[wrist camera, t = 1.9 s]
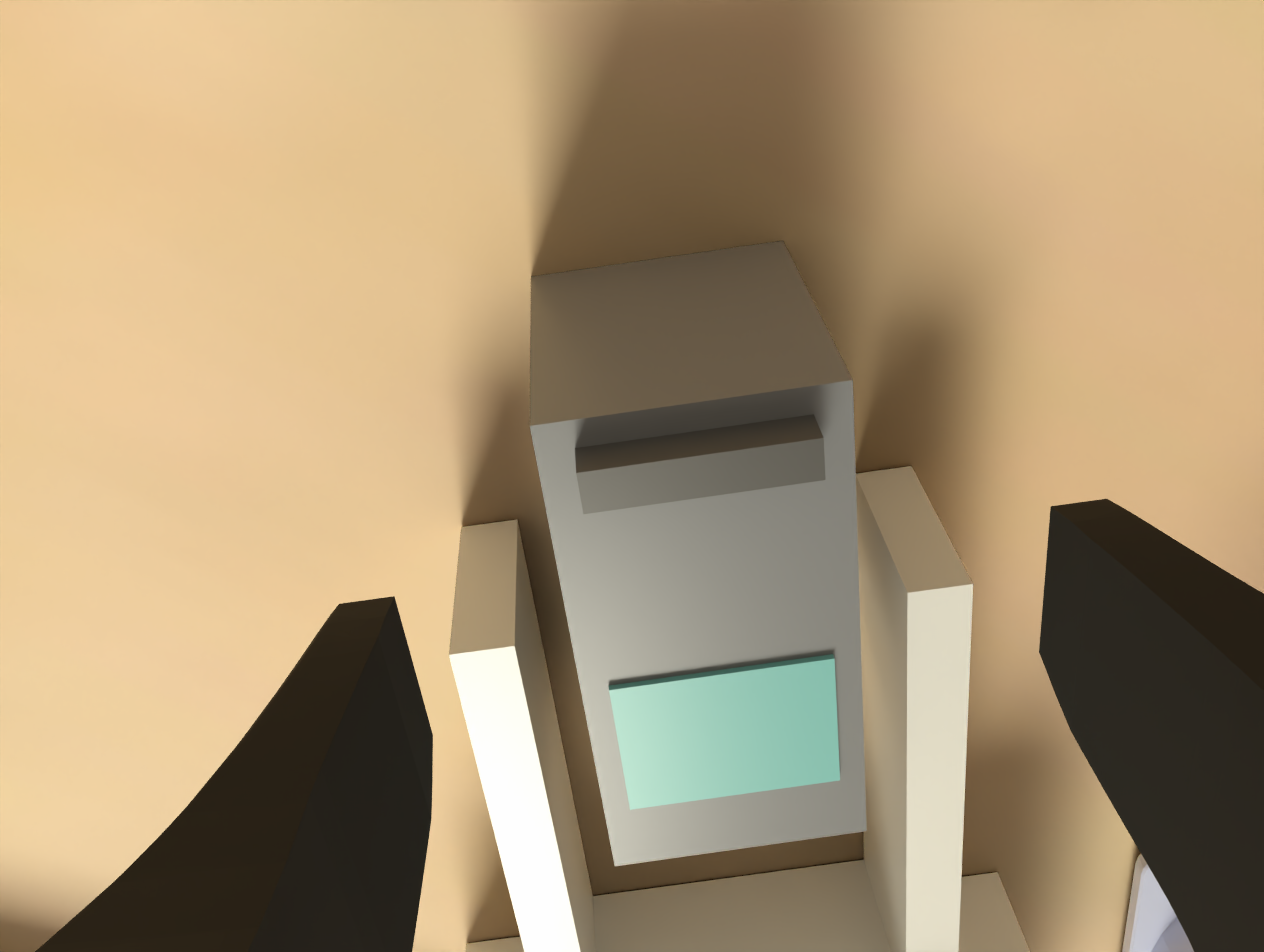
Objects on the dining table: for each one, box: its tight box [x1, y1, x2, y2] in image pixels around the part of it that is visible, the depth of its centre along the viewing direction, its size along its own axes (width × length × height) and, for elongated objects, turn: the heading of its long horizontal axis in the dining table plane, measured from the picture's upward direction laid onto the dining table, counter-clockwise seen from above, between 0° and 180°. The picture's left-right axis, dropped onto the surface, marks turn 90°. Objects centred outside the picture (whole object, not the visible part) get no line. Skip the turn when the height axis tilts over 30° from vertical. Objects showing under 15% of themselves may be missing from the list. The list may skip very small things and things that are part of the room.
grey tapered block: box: [530, 241, 867, 866], centre depth 19 cm, size 4×8×6 cm, turn 7°
